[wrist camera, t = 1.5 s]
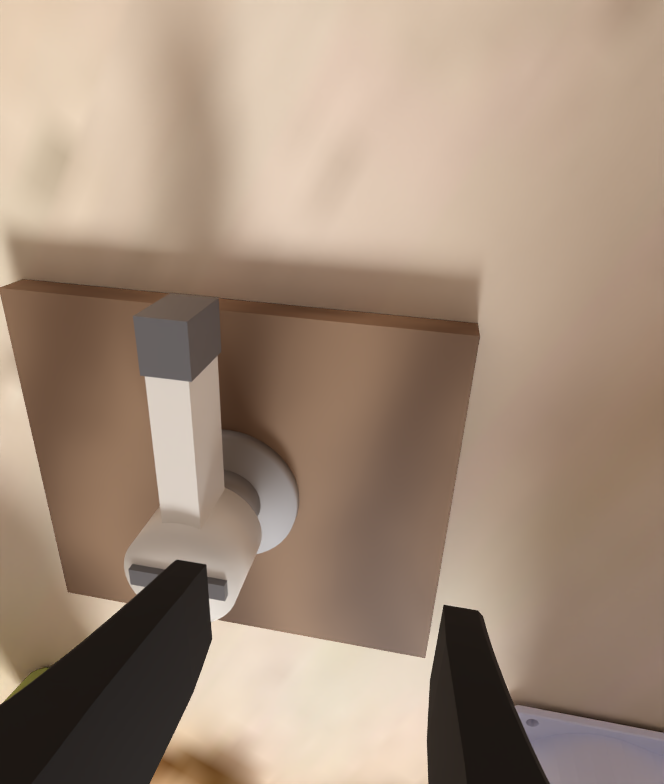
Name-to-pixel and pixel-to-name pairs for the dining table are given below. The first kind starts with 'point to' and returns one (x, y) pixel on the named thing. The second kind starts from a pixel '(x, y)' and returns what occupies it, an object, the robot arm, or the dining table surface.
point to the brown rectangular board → (261, 451)
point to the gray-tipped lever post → (189, 454)
